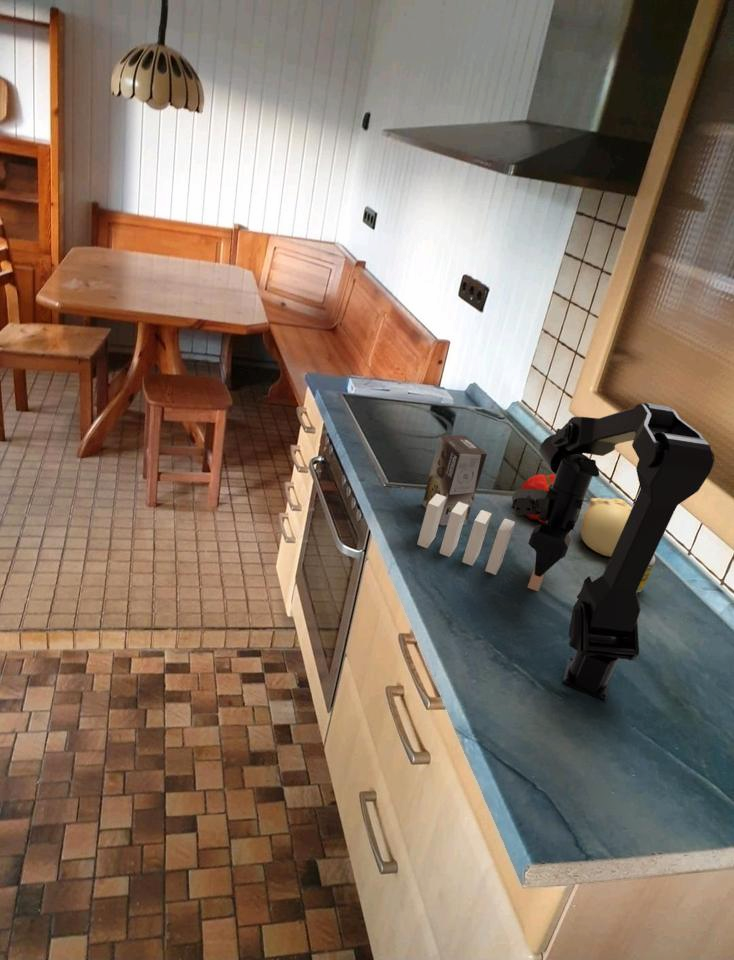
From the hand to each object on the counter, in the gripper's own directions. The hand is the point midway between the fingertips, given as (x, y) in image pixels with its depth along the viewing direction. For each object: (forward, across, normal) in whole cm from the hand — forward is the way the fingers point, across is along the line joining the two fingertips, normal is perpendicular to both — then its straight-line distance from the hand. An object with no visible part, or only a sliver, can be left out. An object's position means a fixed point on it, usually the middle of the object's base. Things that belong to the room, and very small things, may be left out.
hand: (542, 564), depth 126 cm
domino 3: (+4, 0, -12) cm, 13 cm away
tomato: (+4, -28, -4) cm, 29 cm away
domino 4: (+4, 0, -8) cm, 9 cm away
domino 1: (+4, 0, -22) cm, 22 cm away
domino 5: (+4, 0, 0) cm, 4 cm away
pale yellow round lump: (+4, -24, +10) cm, 26 cm away
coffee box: (+4, -13, -22) cm, 26 cm away
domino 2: (+4, 0, -17) cm, 17 cm away
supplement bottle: (+4, -12, +16) cm, 20 cm away
